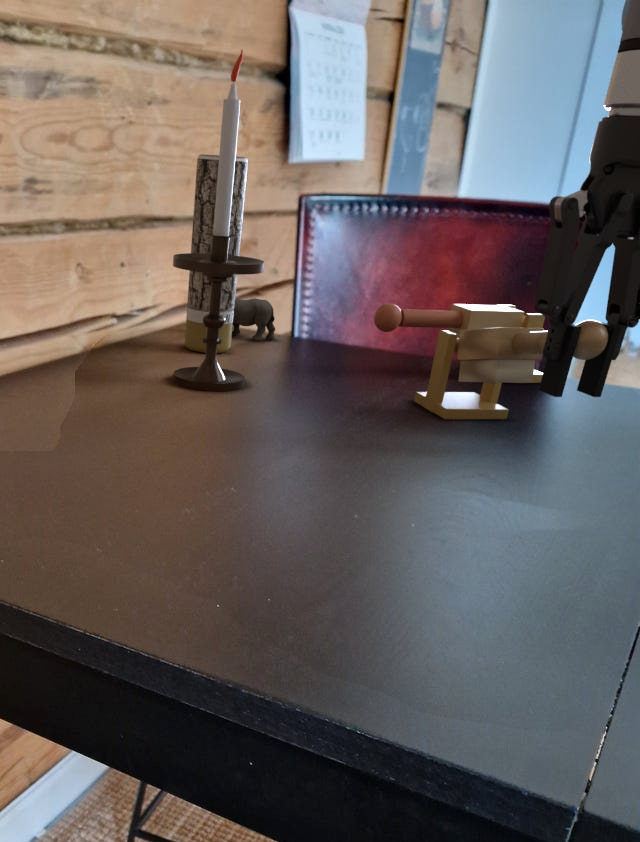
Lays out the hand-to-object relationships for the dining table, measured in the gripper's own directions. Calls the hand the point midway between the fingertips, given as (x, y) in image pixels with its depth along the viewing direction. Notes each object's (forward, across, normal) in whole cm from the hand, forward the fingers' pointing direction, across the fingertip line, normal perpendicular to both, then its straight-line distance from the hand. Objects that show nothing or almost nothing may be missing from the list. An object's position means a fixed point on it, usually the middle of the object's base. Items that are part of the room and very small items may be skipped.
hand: (569, 393), depth 84 cm
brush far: (+3, -7, -37) cm, 37 cm away
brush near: (+1, 0, -8) cm, 8 cm away
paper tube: (+6, +23, -52) cm, 57 cm away
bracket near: (+7, 0, -19) cm, 20 cm away
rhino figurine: (+6, +16, -63) cm, 65 cm away
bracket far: (+6, -17, -37) cm, 41 cm away
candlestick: (+7, +28, -32) cm, 43 cm away
